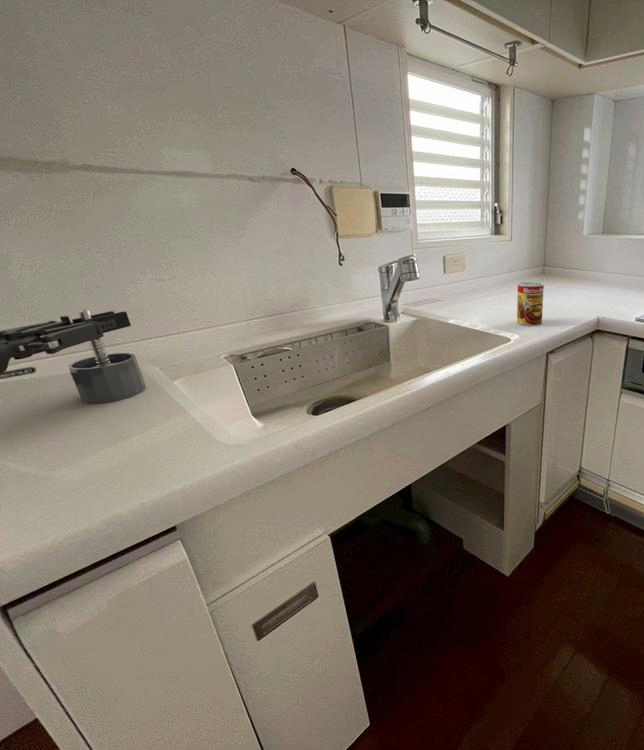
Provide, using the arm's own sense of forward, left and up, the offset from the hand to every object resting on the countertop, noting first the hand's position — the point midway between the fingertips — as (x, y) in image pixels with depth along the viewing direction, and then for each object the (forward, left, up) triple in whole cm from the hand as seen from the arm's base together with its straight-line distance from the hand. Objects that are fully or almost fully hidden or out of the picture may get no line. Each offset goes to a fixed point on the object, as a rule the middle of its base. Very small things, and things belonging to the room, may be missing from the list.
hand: (120, 318), depth 75 cm
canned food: (+64, +70, -13) cm, 95 cm away
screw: (+1, -5, -10) cm, 12 cm away
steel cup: (+1, -5, -13) cm, 14 cm away
